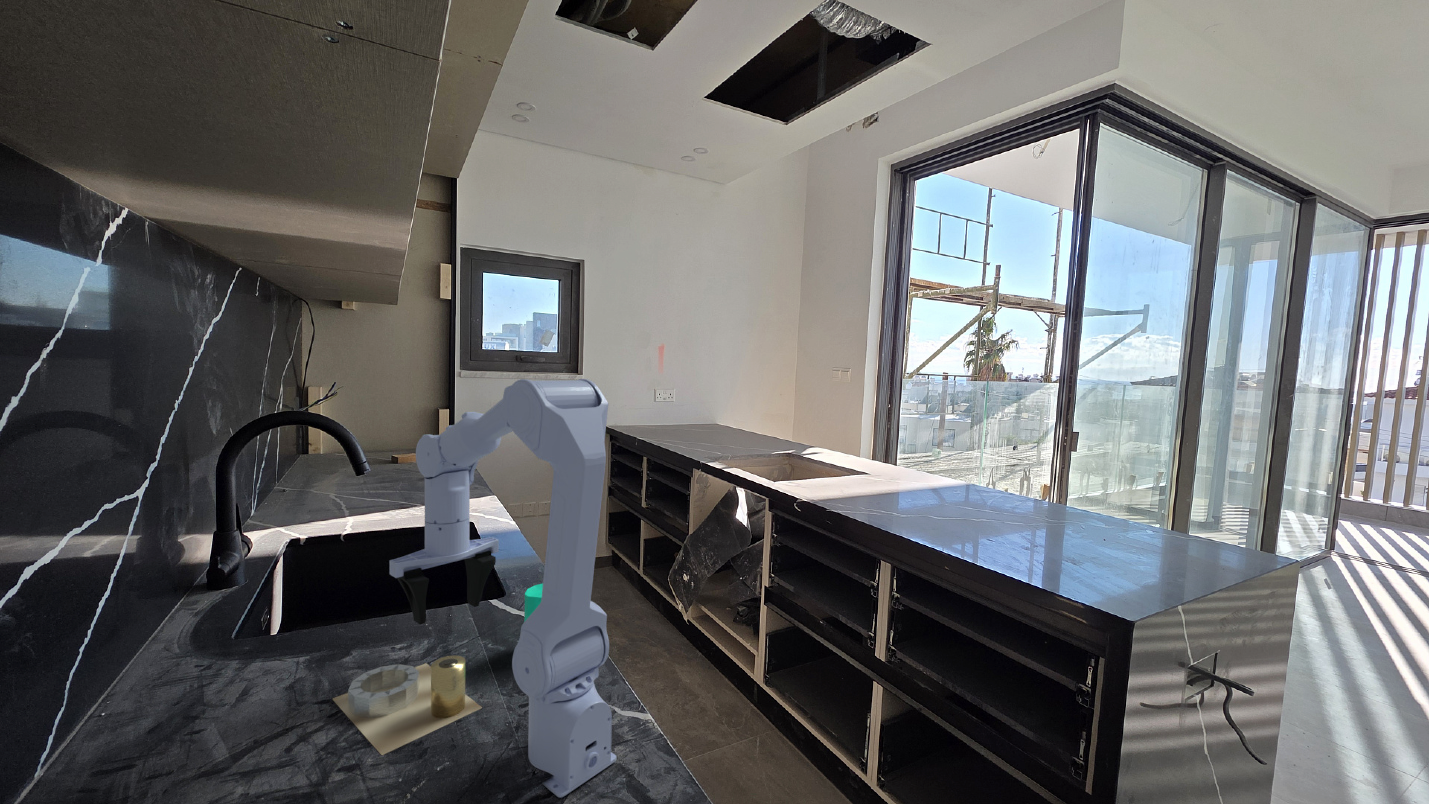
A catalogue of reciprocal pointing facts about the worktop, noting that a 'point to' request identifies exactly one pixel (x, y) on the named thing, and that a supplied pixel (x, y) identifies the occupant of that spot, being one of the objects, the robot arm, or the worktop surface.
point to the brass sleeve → (447, 686)
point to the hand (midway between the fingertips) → (447, 612)
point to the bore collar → (388, 701)
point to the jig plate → (404, 717)
